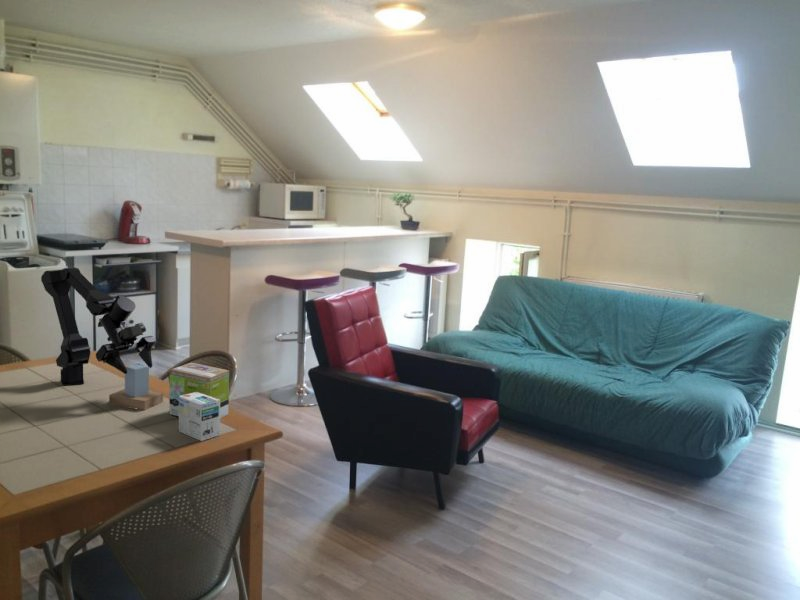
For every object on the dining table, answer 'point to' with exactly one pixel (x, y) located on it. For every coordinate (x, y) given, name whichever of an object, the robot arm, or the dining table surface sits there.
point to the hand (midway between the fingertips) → (139, 370)
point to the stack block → (136, 400)
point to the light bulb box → (199, 416)
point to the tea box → (199, 385)
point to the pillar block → (137, 380)
